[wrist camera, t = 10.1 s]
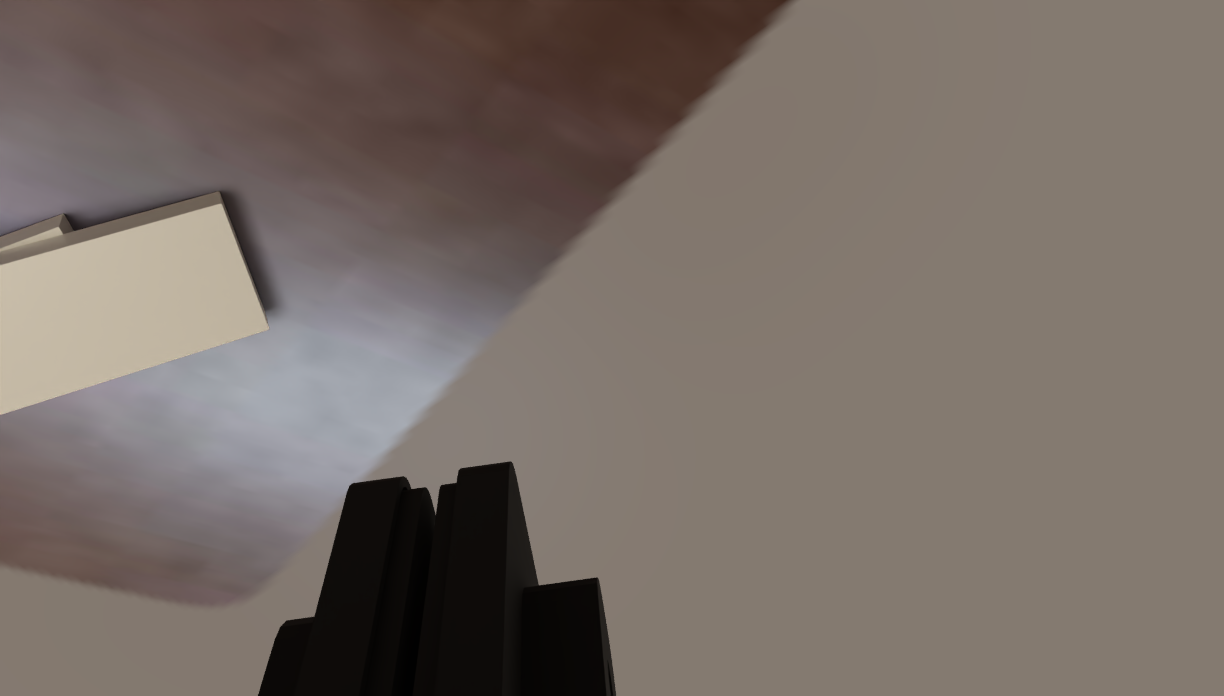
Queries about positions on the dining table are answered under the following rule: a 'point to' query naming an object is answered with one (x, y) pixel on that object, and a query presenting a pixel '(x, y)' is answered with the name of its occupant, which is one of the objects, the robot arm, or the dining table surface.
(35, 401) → the tile
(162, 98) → the dining table surface
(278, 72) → the dining table surface
